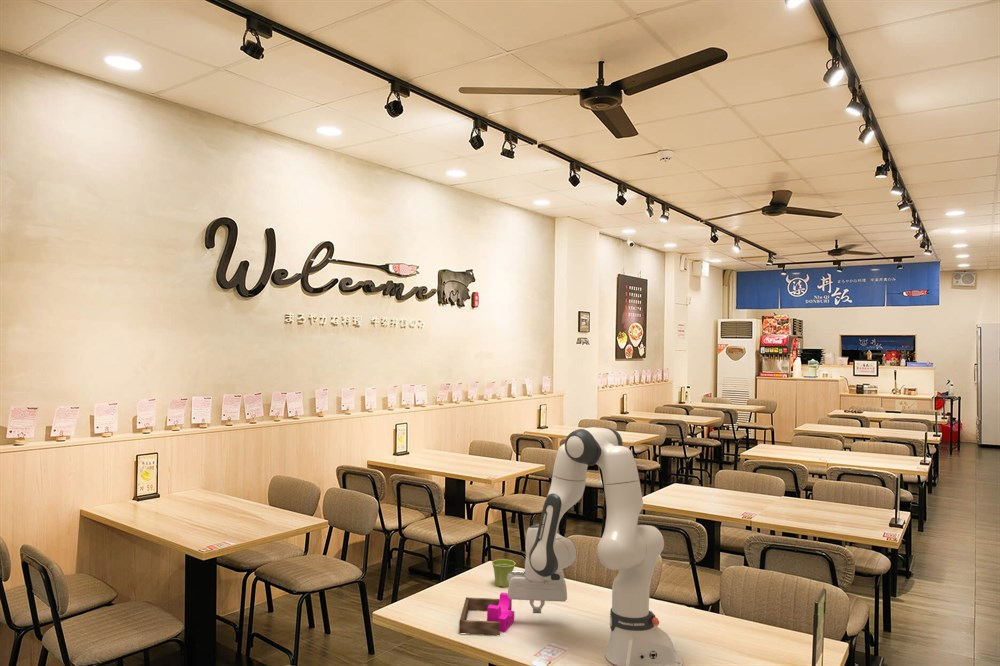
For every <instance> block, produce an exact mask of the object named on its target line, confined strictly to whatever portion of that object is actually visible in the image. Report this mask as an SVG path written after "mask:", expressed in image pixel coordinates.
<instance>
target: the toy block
mask: <svg viewBox="0 0 1000 666" xmlns="http://www.w3.org/2000/svg"><path fill="white" fill-rule="evenodd" d="M498 599H499V604H498V606H497V605H489V606H488V607H487V611H486V614H487V615H486V621H497V622H500V633H504V632H505V633H506V632H507V631H508V629H509V628H510V627H511V626H512V624H513V623H514V622H515V610H512V605H513V604H512V603H513V602H512V601H513V599H509V598H508V592H503V591H502V592H500V593H499V597H498ZM510 625H511V626H510Z"/></svg>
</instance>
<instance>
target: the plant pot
mask: <svg viewBox="0 0 1000 666" xmlns="http://www.w3.org/2000/svg"><path fill="white" fill-rule="evenodd" d="M516 564H517V563H516V562H515V561H514V560H511V559H506V558H502V559H501V558H500V559H494V560H493V561H491V565H492V568H493V572H494V584H495V586H496V587H499V588H501V587H502V588H507V587H509V583H508V582H507V575H508V573H509V572H512V571H514V569H515V566H516ZM510 574H512V573H510Z"/></svg>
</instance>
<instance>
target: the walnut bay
mask: <svg viewBox="0 0 1000 666" xmlns="http://www.w3.org/2000/svg"><path fill="white" fill-rule="evenodd" d="M498 604H499V598H493V597H492V598H490V597H489V598H488V597H487V598H486V597H482V598H481V597H465V600H464V604H463V608H462V611H461V614H460V618H459V622H458V623H459V625H458V628H459V629H458V634H459V633H469V634H468V635H474V634H484V635H483V636H497V635H500V633H501V632H500V622H497V621H487V620H472V619H471V620H470V619H469V620H467V619H468V615H469V611H476V610H482V612H487V607H488V606H489V605H497V606H498Z"/></svg>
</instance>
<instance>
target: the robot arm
mask: <svg viewBox="0 0 1000 666" xmlns="http://www.w3.org/2000/svg"><path fill="white" fill-rule="evenodd" d="M623 444H624V443H623V438H622V436H621V434H620V433H619V432H618V431H617V430H615V428H611V427H607V426H603V427H594V426H591V427H585V428H578V429H575V430H573V431H571V432H570V433H569V434H568V435H567V436H566V438H565V441H564V443H562V444H561V445H560V446H559V448H558V450H557V453H556V455H555V459H554V460H555V461H554V464H553V469H552V470H553V471H552V477H551V483H550V486H549V490H548V493H547V496H546V498H545V500H544V503H543V506H542V511H541V514H540V519H539V523H535V524H532V525H530V526H529V527H528V528H527V529H526V534H525V535H526V536H525V546H524V547H525V550H524V551H525V553H526V554H525V555H526V556H525V559H524V560H525V561H524V570H513V571H512V572H509V573H508V575H507V582H508V583H509V586H508V588H507V589H508V590H507V593H508V598H509V599H512V600H514V601H515V600H516V601H517V600H518V601H529V605H530V606H531V609H532V614H538V615H539V614H542V609H543V607H544V605H546V602H560V603H561V602H562V603H563V602H566V601H567V600H568V590H567V584H566V579H565V574H564V570H563V569H565V568H567V567H569V566H571V565H573V564H574V563H575V562H576V560H577V557H578V556H577V555H578V551H577V547H576V544H575V543H574V542H573V541H572V539H570V538H569V537H566V536H564V535H563V536H562V535H561V534H560V533H558V530H559V526H560V522H561V520H562V518H563V516H564V514H565V513H566V512H567V511H568V510H569V509H570V508H572V507H573V506H574V505H576V504H577V503H578V502H579V501H580V500H581V499H582V497H583V495H584V492H585V488H586V482H587V472H588V467H589V466H590V467H591V466H592V467H593V466H595V465H597V467H599V468H600V470H601V475H602V480H603V481H602V482H603V488H604V494H605V495H604V496H605V505H606V519H605V524H604V525H605V526H604V530H603V533H602V536H601V538H600V540H599V542H598V544H597V548H596V550H597V551H596V552H597V553H596V554H597V557H598V559H599V561H600V564H602V566H604V568H606V569H608V570H610V571H611V570H613V571H618V573H617V575H616V576H615V577H614V579H613V582H612V584H611V585H612V586H611V587H612V588H611V608H610V613H609V627H610V632H609V633H610V634H609V641H608V645H607V649H606V652H605V658H606V659H607V661H609V663H610V664H613V665H614V666H683V660H682V659H683V658H682V657H681V655H680V654H679V653H678V651H676V650H675V647H674V644H673V641H672V638H671V637H670V636H669V635H668V634H667V632H665V631H664V630H662V628H660V627H659V625H660V621H659V618H658V617H656V614H654V612H653V611H652V610H650V590H651V581H652V577H653V574H654V572H655V571H654V570H655V567H656V563H657V561H658V559H659V557H660V555H661V553H662V552H663V550H664V547H665V540H664V536H663V535H662V532H661V531H660V530H659V528H657V527H656V526H653V525H649V524H648V525H647V524H638V523H639V522H638V521H639V516H640V514H641V511H642V510H643V507H644V500H643V494H642V493H643V492H642V489H641V481H640V476H639V471H638V466H637V463H636V461H635V458H634V453H633V452H632V450H631V449H630V448H628V447H626V446H624V445H623ZM510 573H512V574H510ZM536 601H538V602H539V601H540V604H539V606H536V605H535V604H534V603H535V602H536Z"/></svg>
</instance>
